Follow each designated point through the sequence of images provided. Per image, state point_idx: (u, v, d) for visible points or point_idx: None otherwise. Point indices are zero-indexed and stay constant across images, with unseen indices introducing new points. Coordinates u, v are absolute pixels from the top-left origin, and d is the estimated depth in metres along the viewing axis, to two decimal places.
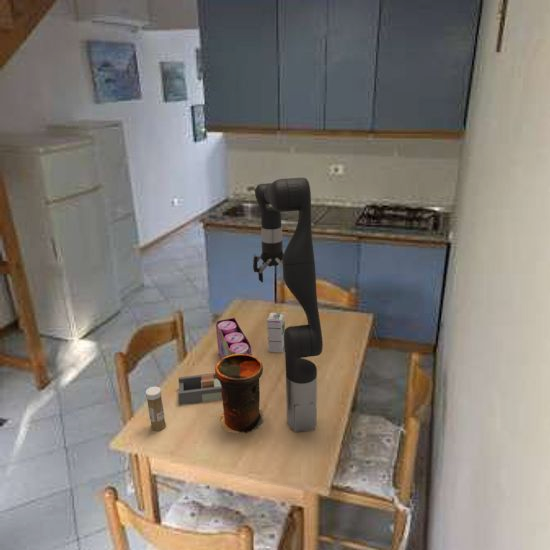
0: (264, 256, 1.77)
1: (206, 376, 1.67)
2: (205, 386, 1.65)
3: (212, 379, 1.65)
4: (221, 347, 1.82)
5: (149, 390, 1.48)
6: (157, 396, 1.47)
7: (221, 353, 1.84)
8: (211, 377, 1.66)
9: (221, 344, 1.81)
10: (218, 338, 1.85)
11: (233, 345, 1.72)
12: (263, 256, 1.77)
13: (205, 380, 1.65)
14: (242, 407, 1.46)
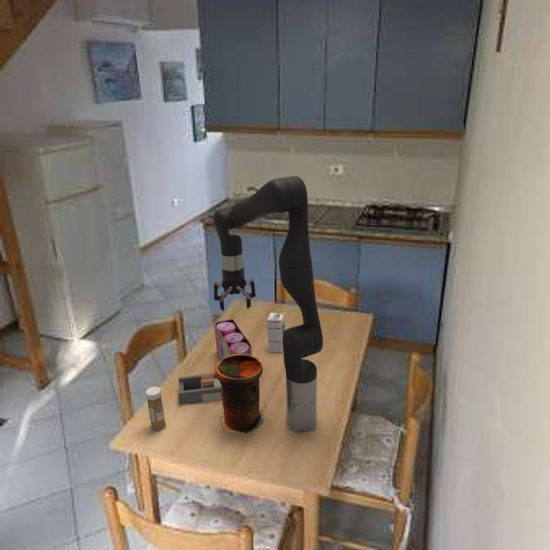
0: (225, 284, 1.67)
1: (206, 376, 1.67)
2: (205, 386, 1.65)
3: (212, 379, 1.65)
4: (220, 348, 1.82)
5: (149, 390, 1.48)
6: (157, 396, 1.47)
7: (220, 354, 1.84)
8: (211, 377, 1.66)
9: (220, 345, 1.81)
10: (217, 339, 1.85)
11: (233, 345, 1.72)
12: (224, 284, 1.67)
13: (205, 380, 1.65)
14: (242, 407, 1.46)
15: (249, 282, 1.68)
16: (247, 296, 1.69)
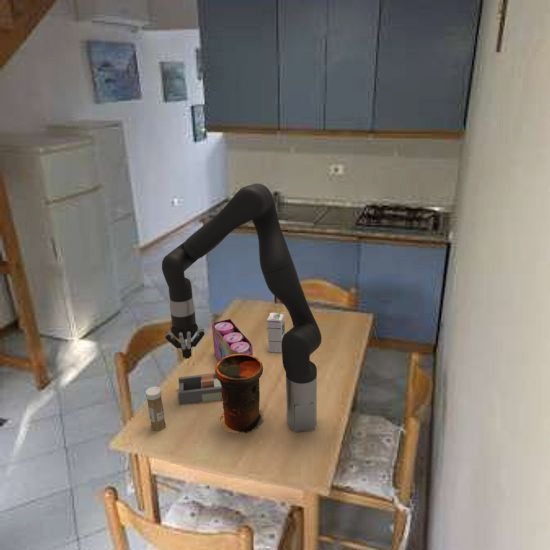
0: (173, 330, 1.56)
1: (206, 376, 1.67)
2: (205, 386, 1.65)
3: (212, 379, 1.65)
4: (219, 348, 1.82)
5: (149, 390, 1.48)
6: (157, 396, 1.47)
7: (219, 354, 1.84)
8: (211, 377, 1.66)
9: (219, 345, 1.81)
10: (215, 340, 1.85)
11: (233, 344, 1.73)
12: (172, 330, 1.56)
13: (205, 380, 1.65)
14: (242, 407, 1.46)
15: (200, 331, 1.58)
16: (187, 346, 1.59)
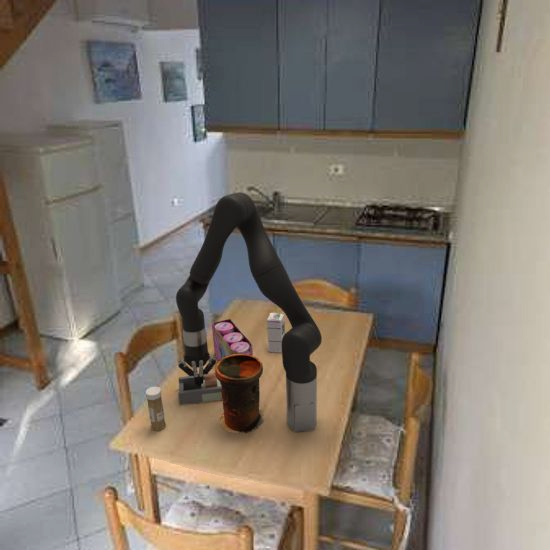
0: (186, 359, 1.60)
1: (209, 376, 1.67)
2: (208, 386, 1.65)
3: (215, 379, 1.65)
4: (219, 348, 1.82)
5: (149, 390, 1.48)
6: (157, 396, 1.47)
7: (219, 354, 1.84)
8: (214, 377, 1.66)
9: (219, 345, 1.81)
10: (215, 340, 1.85)
11: (233, 344, 1.73)
12: (185, 359, 1.60)
13: (208, 380, 1.65)
14: (242, 407, 1.46)
15: (212, 359, 1.63)
16: (199, 373, 1.63)
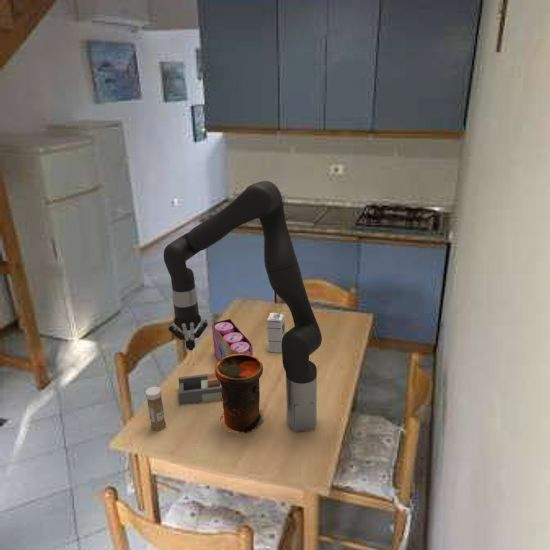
0: (176, 321, 1.55)
1: (212, 375, 1.67)
2: (211, 385, 1.65)
3: None
4: (219, 348, 1.82)
5: (149, 390, 1.48)
6: (157, 396, 1.47)
7: (219, 354, 1.84)
8: None
9: (219, 345, 1.81)
10: (215, 340, 1.85)
11: (233, 344, 1.73)
12: (175, 322, 1.55)
13: (211, 379, 1.65)
14: (242, 407, 1.46)
15: (203, 322, 1.57)
16: (190, 337, 1.57)
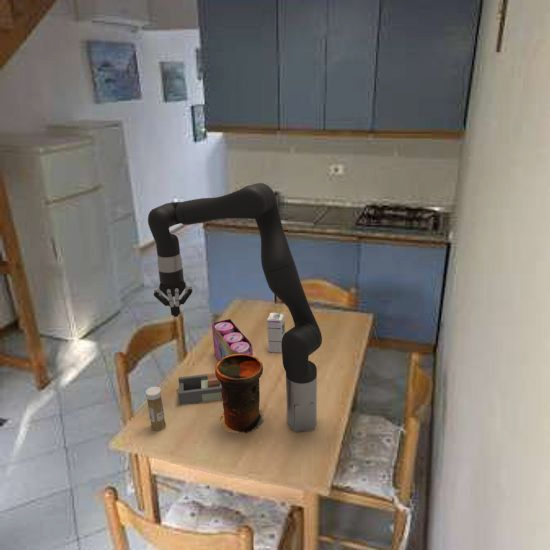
0: (161, 287, 1.57)
1: (212, 375, 1.67)
2: (211, 385, 1.65)
3: None
4: (219, 348, 1.82)
5: (149, 390, 1.48)
6: (157, 396, 1.47)
7: (219, 354, 1.84)
8: None
9: (219, 345, 1.81)
10: (215, 340, 1.85)
11: (233, 344, 1.73)
12: (160, 287, 1.57)
13: (211, 379, 1.65)
14: (242, 407, 1.46)
15: (188, 288, 1.60)
16: (175, 303, 1.60)
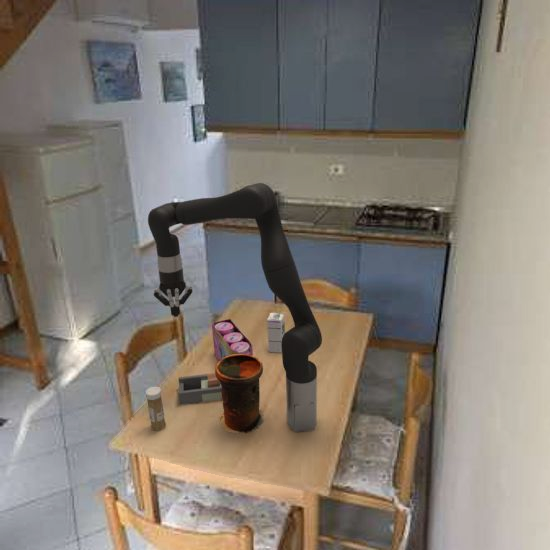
0: (161, 287, 1.57)
1: (212, 375, 1.67)
2: (211, 385, 1.65)
3: None
4: (219, 348, 1.82)
5: (149, 390, 1.48)
6: (157, 396, 1.47)
7: (219, 354, 1.84)
8: None
9: (219, 345, 1.81)
10: (215, 340, 1.85)
11: (233, 344, 1.73)
12: (160, 287, 1.57)
13: (211, 379, 1.65)
14: (242, 407, 1.46)
15: (188, 289, 1.60)
16: (175, 303, 1.60)
